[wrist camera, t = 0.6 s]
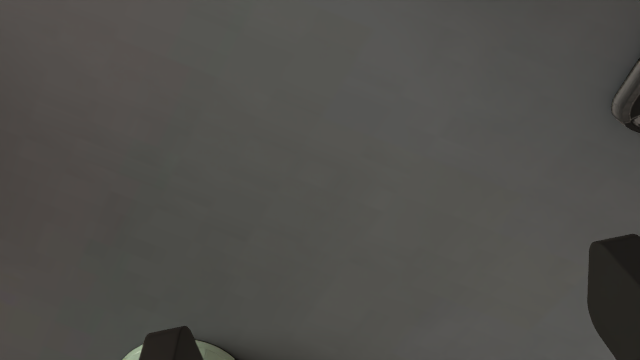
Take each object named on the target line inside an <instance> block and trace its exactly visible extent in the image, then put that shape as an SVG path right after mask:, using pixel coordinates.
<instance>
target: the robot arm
mask: <svg viewBox="0 0 640 360" xmlns="http://www.w3.org/2000/svg"><path fill="white" fill-rule="evenodd" d="M587 303H588V310H589V314H590V317H591V320H592V322H593V325H594V327H595V329H596V331H597V332H598V334H599V336H600V337H601V338H602V340H603V341H604V343H605V344H606V345H607V347H608V348H609V350H610V351H611V352H612V354H613V355H614V357H615V358H616V359H617V360H640V236H638V235H636V234H629V235H625V236H620V237H615V238H610V239H605V240H601V241H596V242H593V243H592V244H591V246H590V250H589V272H588V298H587ZM139 360H204V359H203V357H202V355H201V353H200V350H199V348H198V346H197V344H196V341H195V339H194V337H193V335H192V333H191V331H190V329H189V328H188V327H187V326H182V327H177V328H172V329H167V330H163V331H158V332H153V333H149V334H148V335H147V336H146V338H145V340H144V343H143V347H142V350H141V353H140V357H139Z"/></svg>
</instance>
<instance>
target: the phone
mask: <svg viewBox="0 0 640 360" xmlns="http://www.w3.org/2000/svg"><path fill="white" fill-rule="evenodd" d="M611 110H612V114H613V116H614V117H615V118H616V119H617V120H618V121H619V122H621V123H622V124H623V125H625V126H626V127H628V128H629V129H631V130H633V131H636V132H638V133H640V58H639V60H638V61H637V63H636V64H635V66H634V67H633V69H632V70H631V72H630V74H629V75H628V77H627V78H626V80H625V81H624V83H623V84H622V86H621V87H620V89H619V90H618V92H617V93H616V95H615V97H614V99H613V101H612V106H611Z"/></svg>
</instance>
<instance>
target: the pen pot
mask: <svg viewBox="0 0 640 360" xmlns="http://www.w3.org/2000/svg"><path fill="white" fill-rule="evenodd" d="M195 341H196V344H197V346H198V348H199V350H200V353H201V355H202V357H203V359H204V360H235V359H234V358H233V357H232V356H231V355H229V354H228V353H227V352H225V351H223V350H222V349H220V348H218V347H216V346H213V345H211V344H208V343H205V342H202V341H198V340H195ZM142 347H143V345H141V346H139V347H137V348H136V349H134V350H133V351H131V352H130V353H128V354H127V355H126V356H125V357H124V358H123V360H139V357H140V353H141V350H142Z"/></svg>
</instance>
